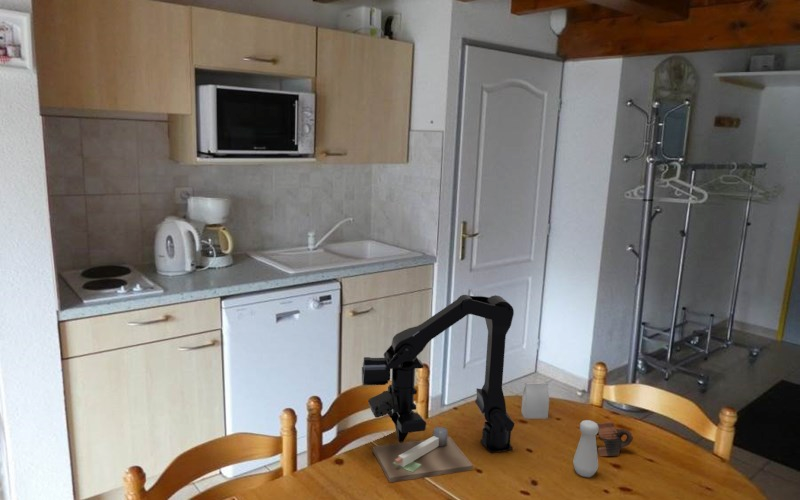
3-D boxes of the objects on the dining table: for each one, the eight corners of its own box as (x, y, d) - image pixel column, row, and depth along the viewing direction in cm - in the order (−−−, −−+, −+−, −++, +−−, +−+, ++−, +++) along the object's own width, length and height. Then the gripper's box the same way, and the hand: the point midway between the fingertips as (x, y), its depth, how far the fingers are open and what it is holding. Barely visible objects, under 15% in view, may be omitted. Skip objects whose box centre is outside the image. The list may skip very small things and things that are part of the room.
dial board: (449, 440, 154) (449, 435, 154) (472, 469, 140) (473, 464, 140) (372, 450, 147) (372, 445, 147) (389, 482, 134) (389, 477, 134)
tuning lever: (438, 437, 152) (439, 425, 151) (449, 442, 150) (450, 430, 149) (390, 465, 138) (390, 451, 138) (401, 471, 136) (402, 457, 135)
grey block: (547, 418, 169) (550, 386, 167) (524, 418, 168) (527, 386, 166) (543, 412, 172) (546, 381, 171) (521, 412, 172) (523, 381, 170)
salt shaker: (598, 481, 138) (603, 430, 135) (573, 477, 139) (578, 426, 136) (595, 468, 143) (600, 418, 141) (571, 464, 144) (576, 415, 142)
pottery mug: (587, 458, 149) (581, 424, 151) (587, 457, 157) (582, 425, 160) (637, 454, 146) (630, 419, 148) (634, 453, 154) (627, 421, 157)
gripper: (362, 372, 151) (360, 428, 154) (382, 403, 134) (380, 465, 137) (402, 368, 155) (400, 423, 158) (427, 398, 138) (425, 458, 140)
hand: (400, 441), depth 148 cm, fingers closed
